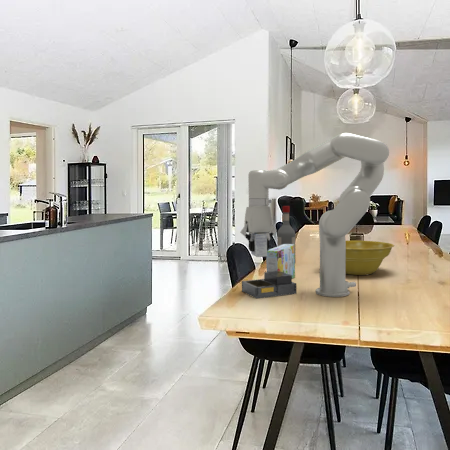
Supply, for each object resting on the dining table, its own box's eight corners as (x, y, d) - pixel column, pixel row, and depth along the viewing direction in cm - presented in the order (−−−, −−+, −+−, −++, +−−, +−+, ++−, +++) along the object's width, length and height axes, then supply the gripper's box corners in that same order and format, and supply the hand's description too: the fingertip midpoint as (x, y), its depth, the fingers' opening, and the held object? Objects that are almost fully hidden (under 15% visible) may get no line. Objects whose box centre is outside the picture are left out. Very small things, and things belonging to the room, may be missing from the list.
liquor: (294, 262, 249) (294, 205, 246) (295, 265, 240) (295, 206, 237) (277, 262, 250) (277, 205, 247) (277, 265, 241) (277, 206, 238)
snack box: (283, 276, 212) (283, 243, 211) (295, 277, 209) (295, 244, 208) (265, 286, 193) (265, 249, 192) (278, 287, 191) (278, 250, 189)
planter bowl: (321, 265, 237) (321, 239, 236) (388, 267, 230) (389, 240, 229) (321, 278, 206) (321, 248, 204) (399, 280, 199) (399, 249, 198)
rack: (279, 286, 191) (279, 269, 190) (296, 293, 179) (296, 275, 178) (241, 291, 184) (241, 273, 184) (256, 298, 172) (256, 280, 172)
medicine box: (267, 256, 175) (267, 233, 175) (255, 257, 175) (255, 234, 174) (262, 253, 183) (262, 231, 182) (250, 254, 182) (250, 232, 182)
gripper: (273, 202, 184) (274, 248, 185) (233, 203, 177) (234, 251, 179) (283, 202, 177) (283, 250, 178) (242, 204, 170) (242, 253, 172)
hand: (258, 250), depth 179 cm, fingers closed on medicine box, 5 cm apart
